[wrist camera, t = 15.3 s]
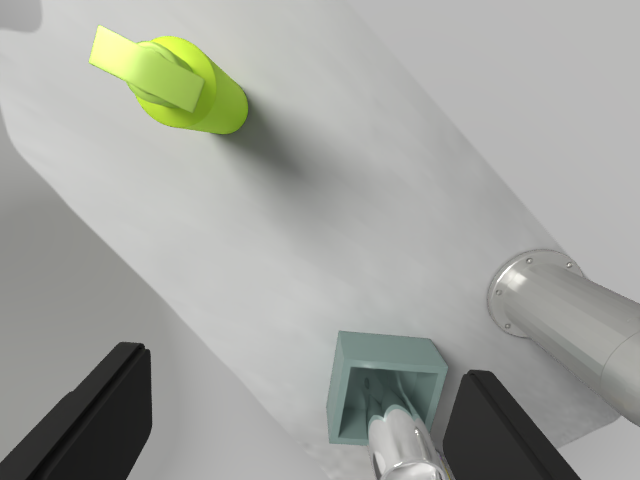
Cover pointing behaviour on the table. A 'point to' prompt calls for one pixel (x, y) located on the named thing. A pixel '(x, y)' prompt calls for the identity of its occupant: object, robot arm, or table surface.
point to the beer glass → (395, 430)
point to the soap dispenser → (173, 81)
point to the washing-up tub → (381, 353)
